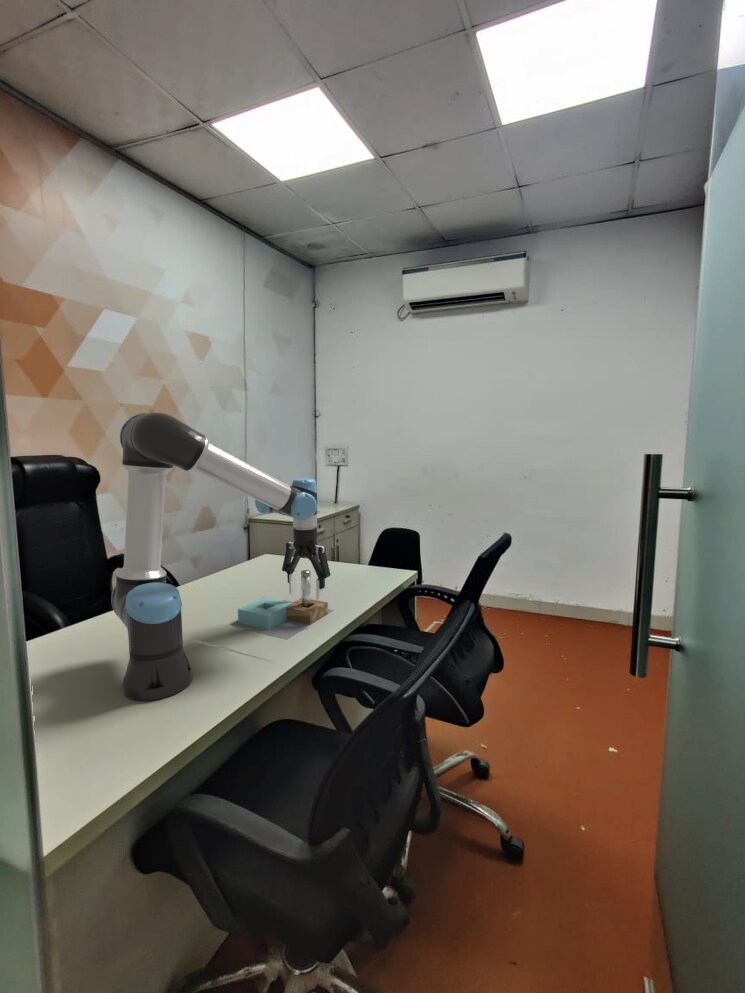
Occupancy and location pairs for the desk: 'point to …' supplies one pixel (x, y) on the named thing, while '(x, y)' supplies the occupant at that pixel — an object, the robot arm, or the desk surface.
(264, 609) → the socket
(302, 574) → the pin
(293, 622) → the mat
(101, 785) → the desk surface
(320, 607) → the block
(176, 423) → the robot arm
